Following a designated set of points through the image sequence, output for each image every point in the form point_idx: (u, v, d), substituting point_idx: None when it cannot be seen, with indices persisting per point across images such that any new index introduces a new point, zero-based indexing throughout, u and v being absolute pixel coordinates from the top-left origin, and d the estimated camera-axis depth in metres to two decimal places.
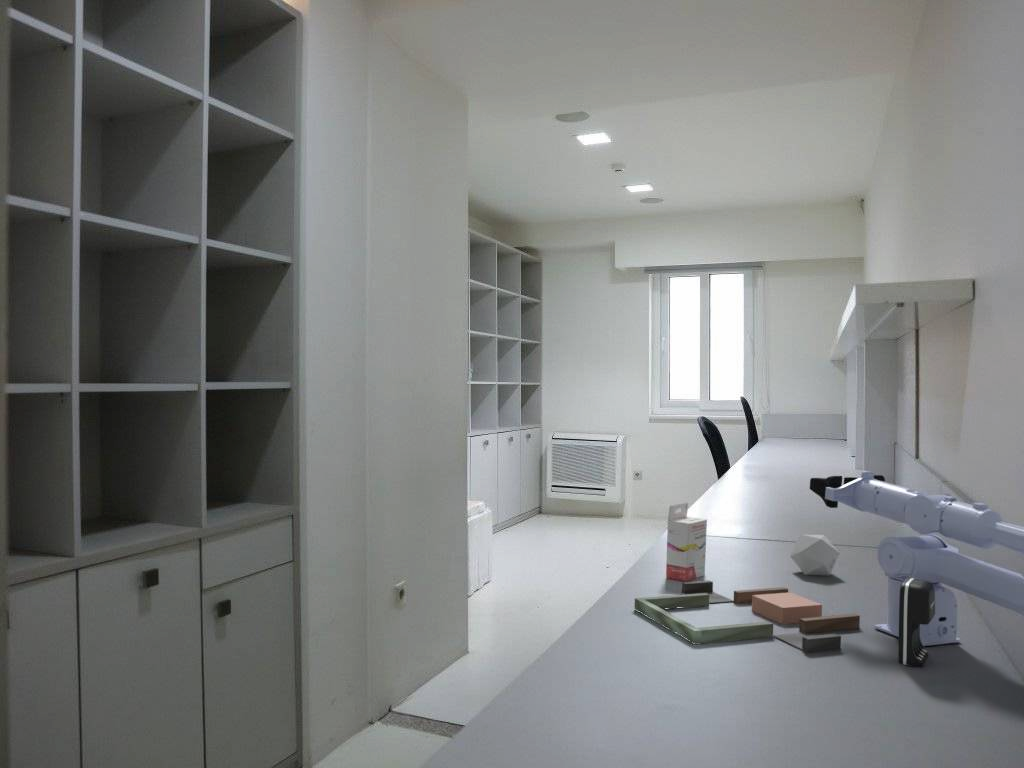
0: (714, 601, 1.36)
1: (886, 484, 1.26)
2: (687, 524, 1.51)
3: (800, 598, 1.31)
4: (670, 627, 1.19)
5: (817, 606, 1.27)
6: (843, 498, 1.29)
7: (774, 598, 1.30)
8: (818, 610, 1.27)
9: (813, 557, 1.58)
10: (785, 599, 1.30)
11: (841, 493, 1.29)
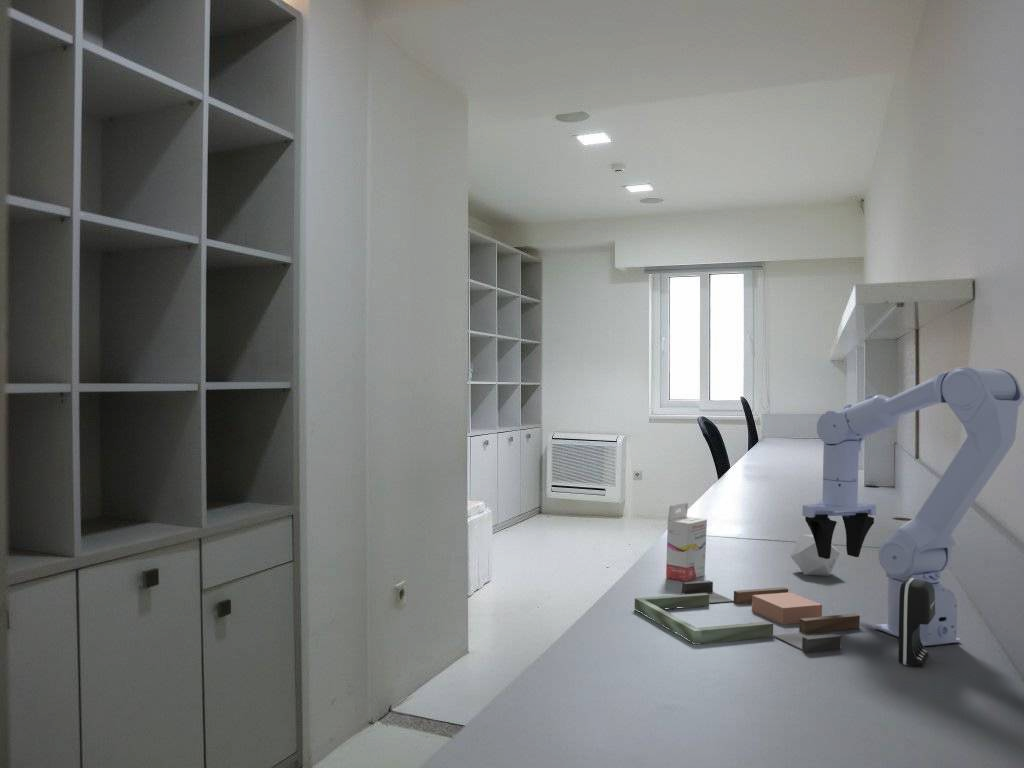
0: (714, 601, 1.36)
1: None
2: (687, 524, 1.51)
3: (800, 598, 1.31)
4: (670, 627, 1.19)
5: (817, 606, 1.27)
6: None
7: (774, 598, 1.30)
8: (818, 610, 1.27)
9: (813, 557, 1.58)
10: (785, 599, 1.30)
11: None
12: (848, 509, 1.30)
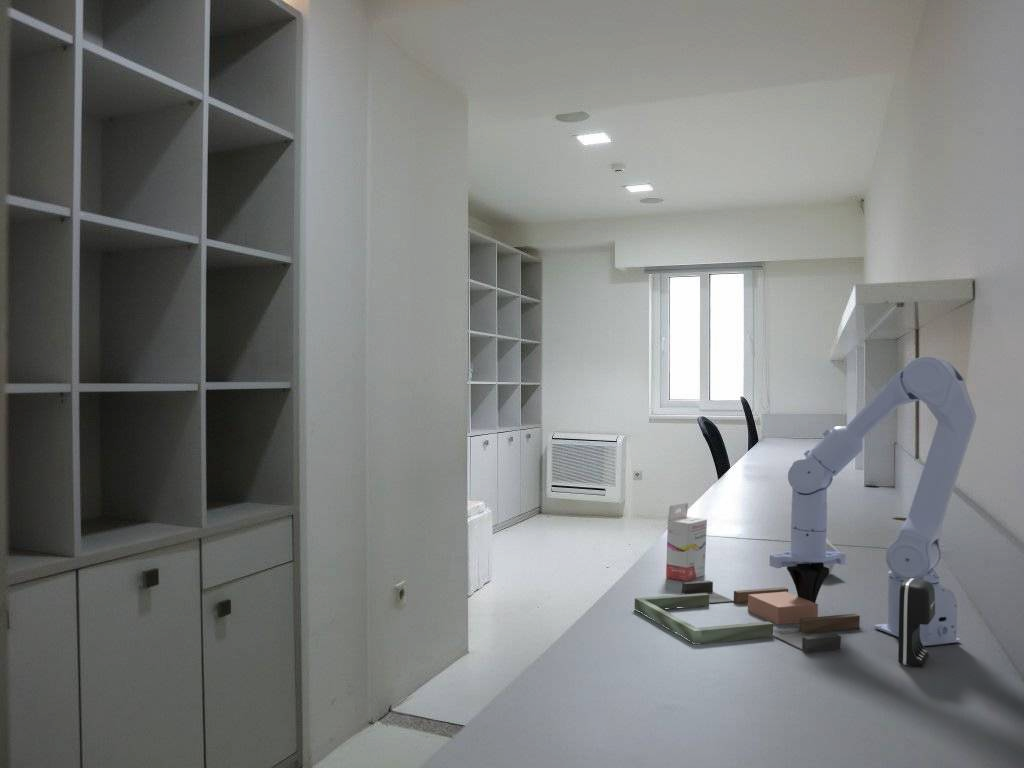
0: (714, 601, 1.36)
1: None
2: (687, 524, 1.51)
3: (796, 597, 1.31)
4: (670, 627, 1.19)
5: (813, 605, 1.27)
6: None
7: (770, 597, 1.30)
8: (813, 610, 1.27)
9: None
10: (781, 598, 1.30)
11: (781, 556, 1.30)
12: (816, 560, 1.28)
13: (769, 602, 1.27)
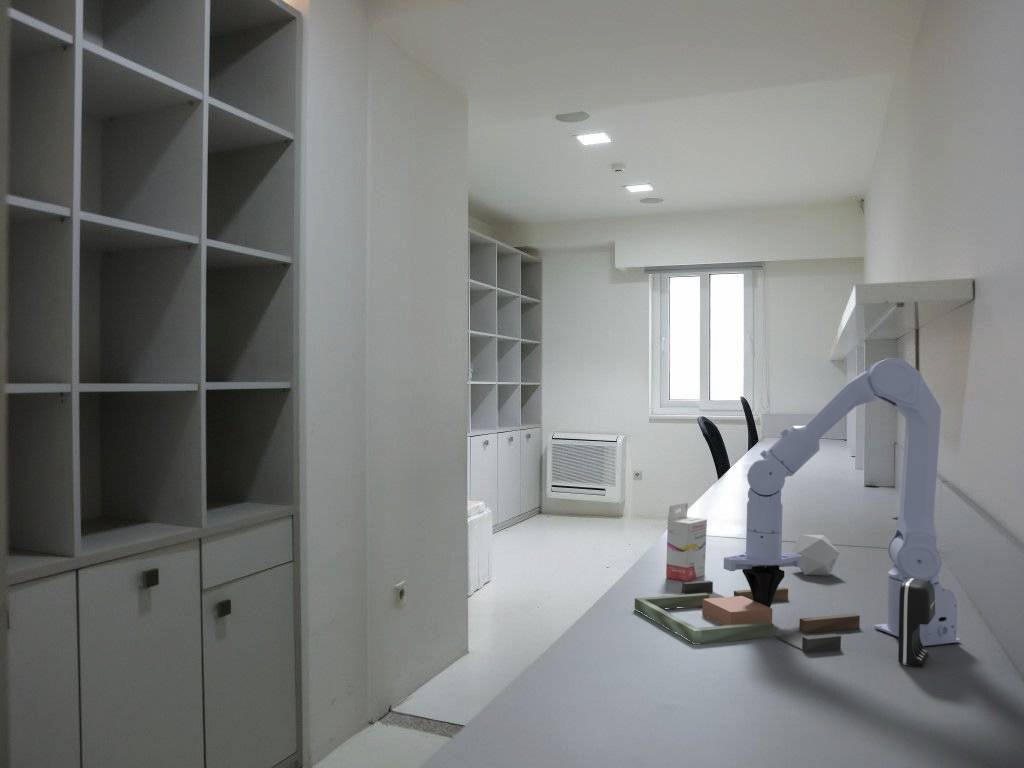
0: None
1: None
2: (687, 524, 1.51)
3: (751, 602, 1.27)
4: (670, 627, 1.19)
5: (767, 610, 1.24)
6: None
7: (724, 602, 1.27)
8: (768, 614, 1.24)
9: (813, 557, 1.58)
10: (736, 603, 1.27)
11: (736, 559, 1.27)
12: (770, 562, 1.25)
13: (722, 607, 1.24)
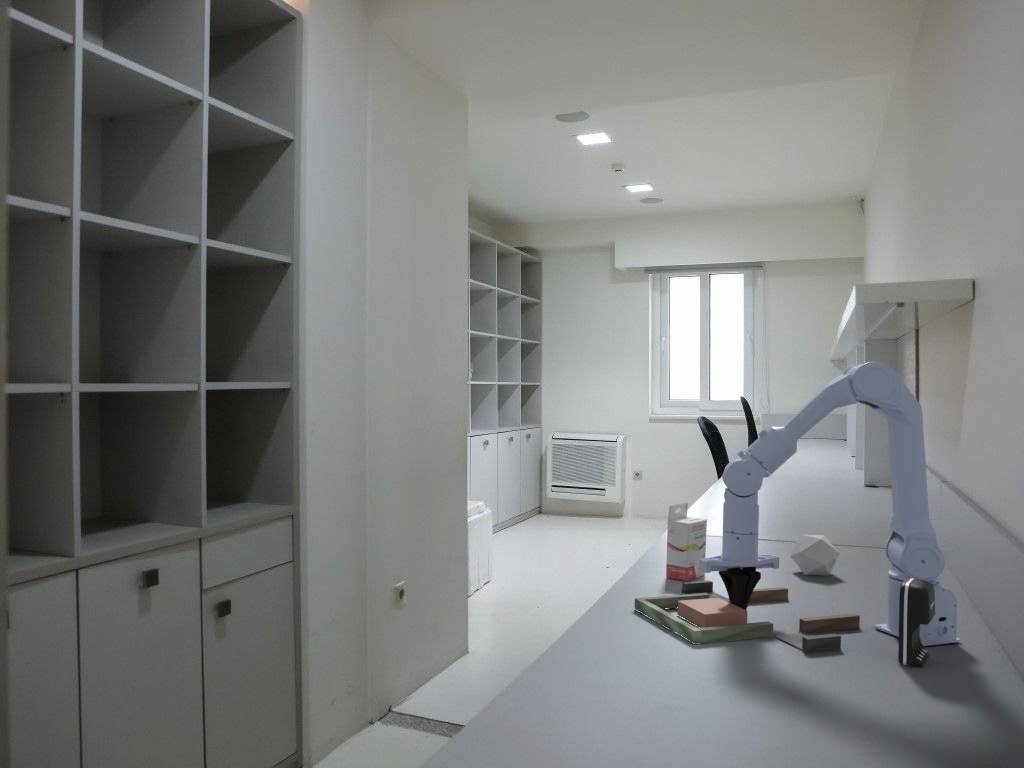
0: None
1: None
2: (687, 524, 1.51)
3: (727, 604, 1.26)
4: (670, 627, 1.19)
5: (742, 612, 1.22)
6: None
7: (699, 604, 1.26)
8: (743, 617, 1.22)
9: (813, 557, 1.58)
10: (711, 605, 1.25)
11: (711, 560, 1.25)
12: (746, 564, 1.23)
13: (697, 609, 1.23)
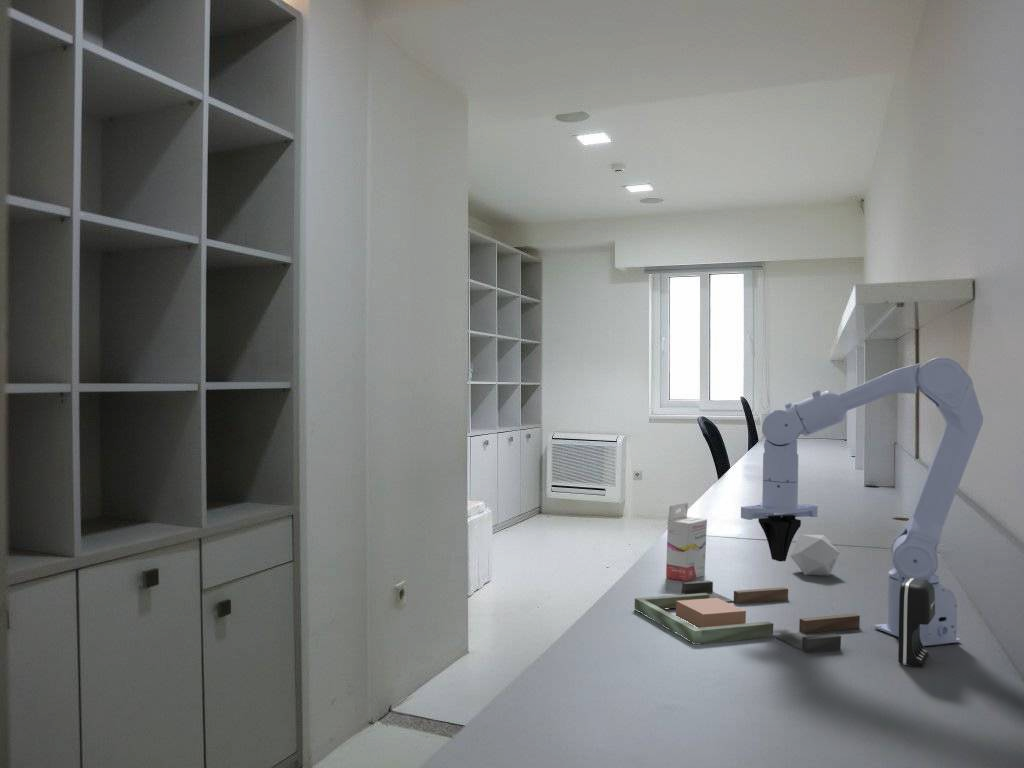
0: None
1: None
2: (687, 524, 1.51)
3: (725, 604, 1.26)
4: (670, 627, 1.19)
5: (740, 612, 1.22)
6: None
7: (698, 604, 1.25)
8: (741, 617, 1.22)
9: (813, 557, 1.57)
10: (709, 605, 1.25)
11: None
12: (787, 511, 1.27)
13: (695, 609, 1.22)
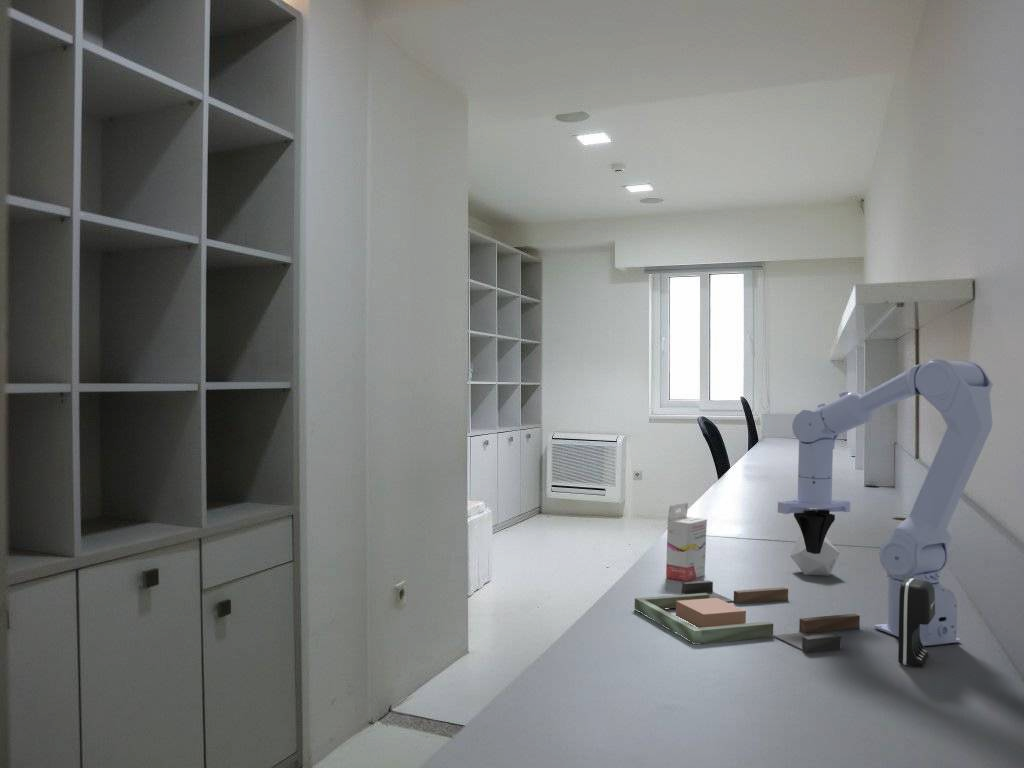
0: None
1: None
2: (687, 524, 1.51)
3: (725, 604, 1.26)
4: (670, 627, 1.19)
5: (741, 612, 1.22)
6: None
7: (698, 604, 1.25)
8: (741, 617, 1.22)
9: (813, 557, 1.58)
10: (709, 605, 1.25)
11: None
12: (822, 506, 1.34)
13: (695, 609, 1.22)
